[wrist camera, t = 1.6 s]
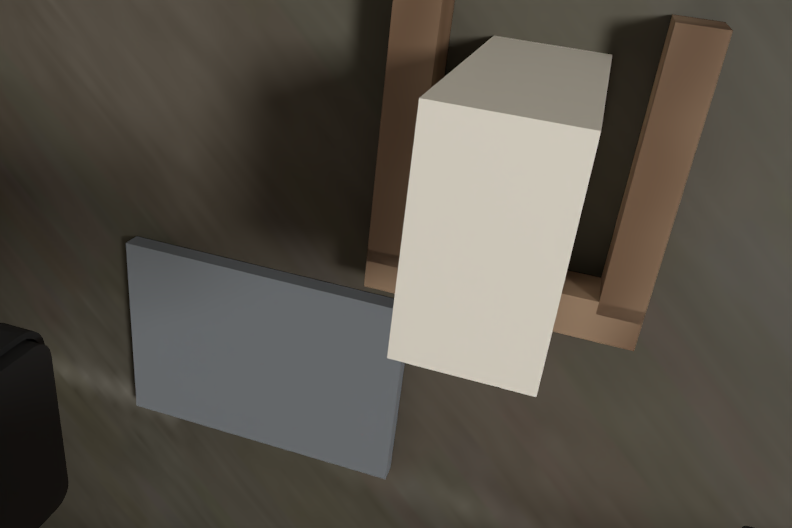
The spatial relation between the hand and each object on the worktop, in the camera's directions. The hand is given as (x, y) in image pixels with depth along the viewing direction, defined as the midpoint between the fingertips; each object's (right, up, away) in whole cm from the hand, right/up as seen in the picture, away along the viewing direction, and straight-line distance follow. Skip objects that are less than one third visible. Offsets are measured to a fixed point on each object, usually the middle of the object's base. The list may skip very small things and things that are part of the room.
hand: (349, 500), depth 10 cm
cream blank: (+6, +7, +16) cm, 19 cm away
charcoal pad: (-5, -1, +24) cm, 24 cm away
